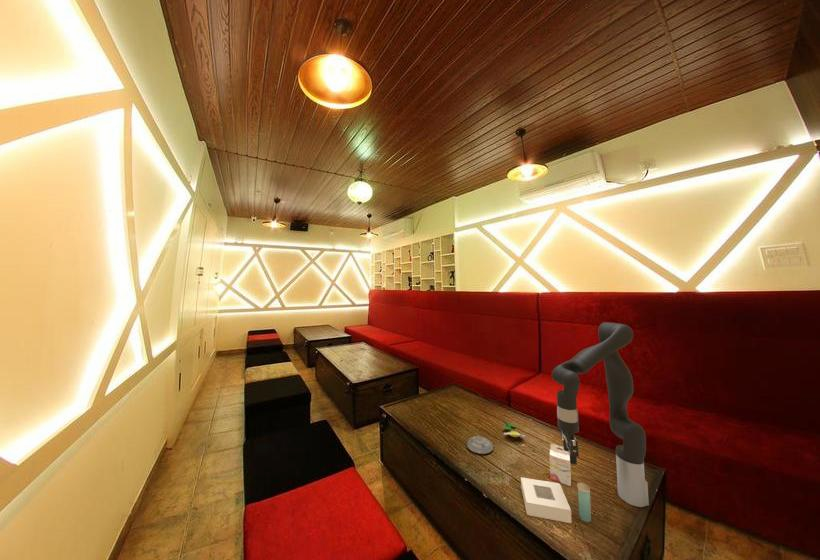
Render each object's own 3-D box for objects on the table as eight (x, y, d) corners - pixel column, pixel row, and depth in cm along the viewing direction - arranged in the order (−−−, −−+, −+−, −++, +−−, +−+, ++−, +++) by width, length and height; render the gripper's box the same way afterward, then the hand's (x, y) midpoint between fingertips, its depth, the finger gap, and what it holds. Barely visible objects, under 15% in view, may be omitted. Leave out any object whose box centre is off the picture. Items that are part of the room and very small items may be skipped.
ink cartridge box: (550, 479, 121) (548, 448, 121) (550, 473, 125) (549, 442, 126) (571, 486, 116) (569, 453, 117) (571, 479, 121) (569, 448, 121)
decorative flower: (495, 423, 177) (506, 442, 148) (495, 415, 178) (505, 433, 149) (514, 424, 175) (528, 445, 146) (514, 417, 176) (528, 436, 147)
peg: (588, 514, 102) (587, 483, 103) (593, 523, 98) (591, 491, 99) (577, 512, 103) (575, 481, 104) (581, 521, 99) (579, 489, 100)
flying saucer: (495, 457, 138) (494, 447, 138) (466, 454, 141) (466, 444, 141) (491, 441, 152) (491, 432, 153) (466, 439, 155) (466, 430, 156)
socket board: (560, 495, 112) (559, 483, 112) (571, 523, 98) (571, 509, 99) (521, 488, 116) (520, 477, 116) (526, 515, 102) (526, 501, 103)
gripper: (584, 427, 98) (587, 470, 97) (572, 410, 112) (574, 447, 111) (562, 425, 100) (565, 467, 99) (553, 408, 114) (555, 445, 113)
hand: (569, 457), depth 105 cm, fingers open, 8 cm apart
